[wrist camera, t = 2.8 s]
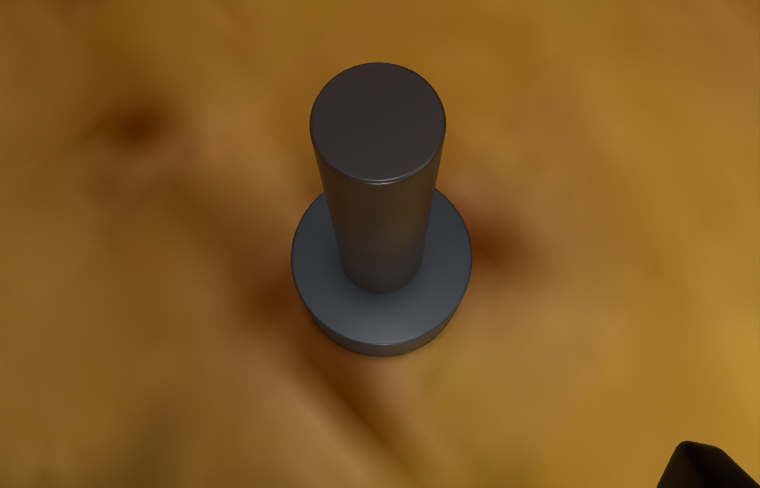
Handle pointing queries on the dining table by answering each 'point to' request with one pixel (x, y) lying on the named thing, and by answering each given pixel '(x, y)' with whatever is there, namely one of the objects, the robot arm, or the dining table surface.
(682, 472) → the robot arm
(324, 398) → the dining table surface
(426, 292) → the grey peg stand
